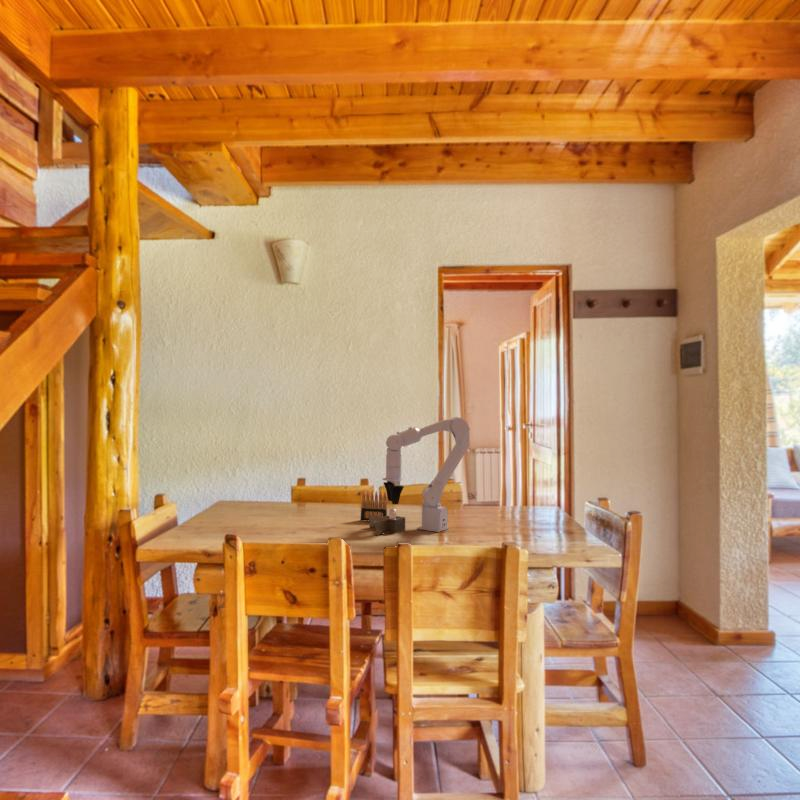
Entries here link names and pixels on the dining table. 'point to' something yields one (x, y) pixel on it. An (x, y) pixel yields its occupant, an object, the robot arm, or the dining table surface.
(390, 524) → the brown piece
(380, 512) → the ammunition clip
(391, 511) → the pin
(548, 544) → the dining table surface
